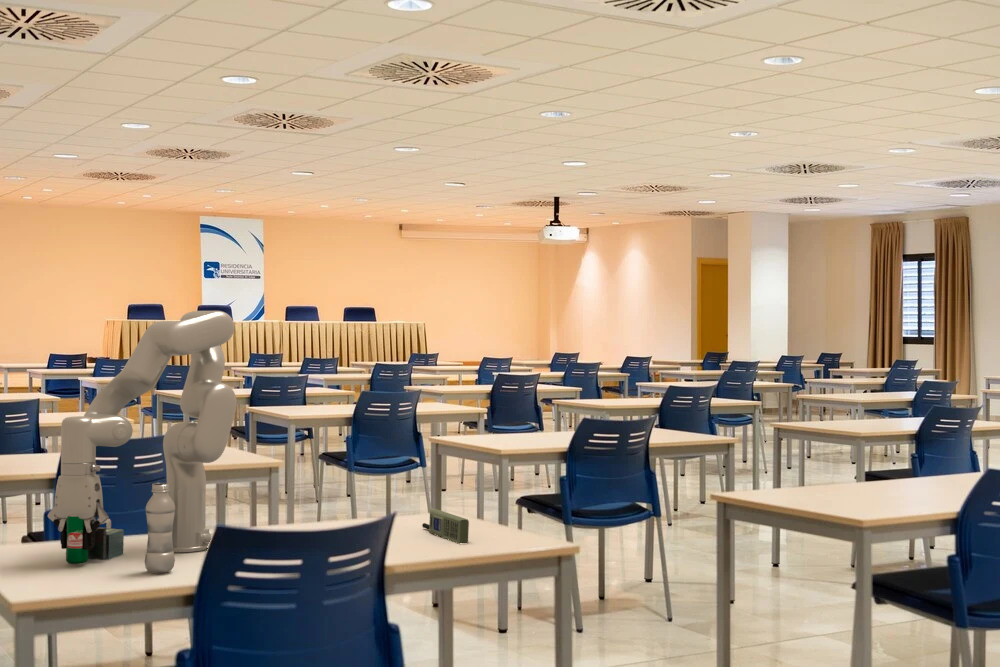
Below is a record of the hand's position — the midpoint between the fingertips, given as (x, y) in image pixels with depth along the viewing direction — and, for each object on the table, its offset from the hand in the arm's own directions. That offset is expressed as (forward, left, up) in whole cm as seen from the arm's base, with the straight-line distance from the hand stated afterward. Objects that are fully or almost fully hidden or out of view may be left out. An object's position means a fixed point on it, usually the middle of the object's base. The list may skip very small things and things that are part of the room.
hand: (77, 547), depth 258 cm
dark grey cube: (0, -11, -4) cm, 12 cm away
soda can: (0, 0, -4) cm, 4 cm away
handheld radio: (-75, -55, -5) cm, 93 cm away
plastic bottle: (-22, +3, -4) cm, 23 cm away
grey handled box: (0, -9, -3) cm, 10 cm away
